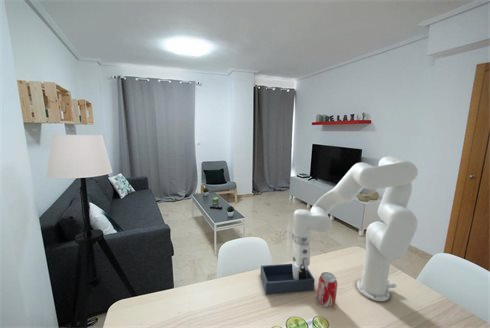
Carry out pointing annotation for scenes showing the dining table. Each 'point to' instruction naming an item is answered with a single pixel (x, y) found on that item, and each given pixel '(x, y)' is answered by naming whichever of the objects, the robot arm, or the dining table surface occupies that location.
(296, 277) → the white cylinder
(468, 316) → the dining table surface
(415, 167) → the robot arm
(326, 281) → the soda can
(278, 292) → the bin
